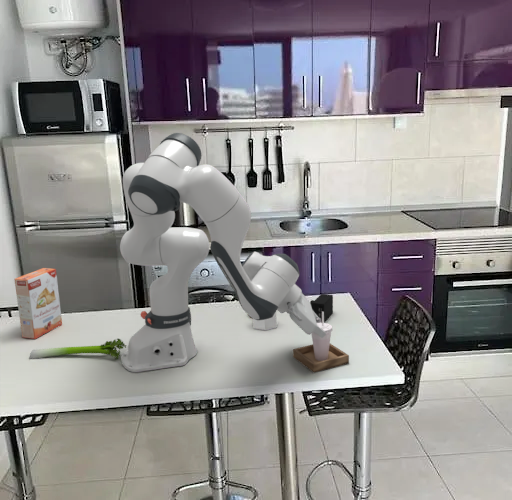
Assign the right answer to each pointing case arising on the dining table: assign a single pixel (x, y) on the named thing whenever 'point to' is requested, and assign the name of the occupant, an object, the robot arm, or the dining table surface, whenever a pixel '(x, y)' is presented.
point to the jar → (265, 323)
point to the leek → (81, 350)
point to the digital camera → (323, 306)
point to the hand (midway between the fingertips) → (321, 328)
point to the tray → (308, 360)
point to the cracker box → (38, 302)
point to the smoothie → (322, 341)
